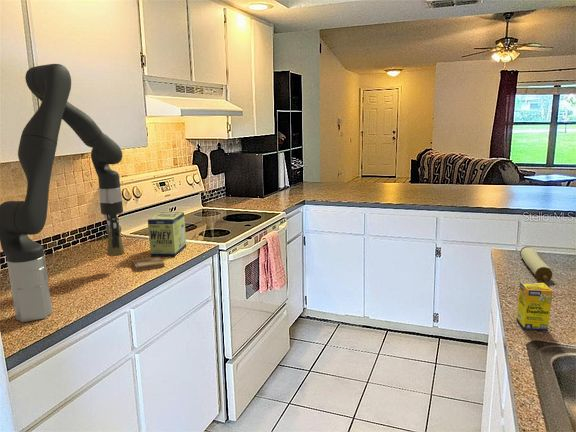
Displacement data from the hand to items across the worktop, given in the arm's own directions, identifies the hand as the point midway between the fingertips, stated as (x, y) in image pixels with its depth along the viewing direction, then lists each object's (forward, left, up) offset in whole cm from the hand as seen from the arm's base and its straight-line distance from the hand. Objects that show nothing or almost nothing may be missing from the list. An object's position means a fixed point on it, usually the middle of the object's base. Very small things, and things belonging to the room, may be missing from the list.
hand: (115, 246), depth 166 cm
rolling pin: (-73, -132, -10) cm, 151 cm away
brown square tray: (0, -11, -9) cm, 14 cm away
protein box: (+15, -22, -10) cm, 29 cm away
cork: (0, 0, -3) cm, 3 cm away
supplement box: (-101, -91, -10) cm, 137 cm away
